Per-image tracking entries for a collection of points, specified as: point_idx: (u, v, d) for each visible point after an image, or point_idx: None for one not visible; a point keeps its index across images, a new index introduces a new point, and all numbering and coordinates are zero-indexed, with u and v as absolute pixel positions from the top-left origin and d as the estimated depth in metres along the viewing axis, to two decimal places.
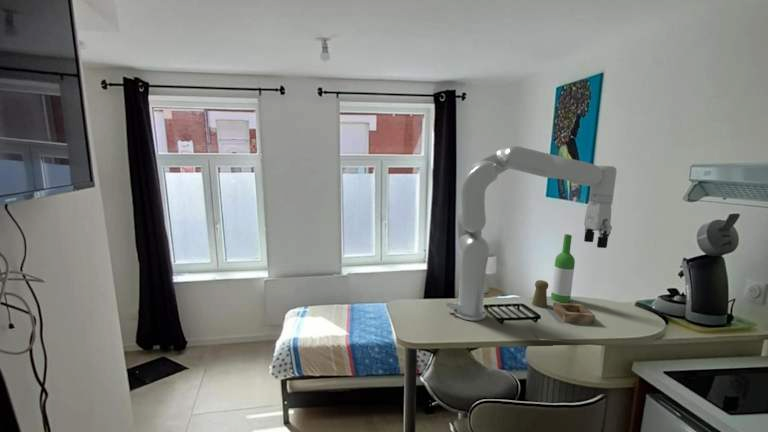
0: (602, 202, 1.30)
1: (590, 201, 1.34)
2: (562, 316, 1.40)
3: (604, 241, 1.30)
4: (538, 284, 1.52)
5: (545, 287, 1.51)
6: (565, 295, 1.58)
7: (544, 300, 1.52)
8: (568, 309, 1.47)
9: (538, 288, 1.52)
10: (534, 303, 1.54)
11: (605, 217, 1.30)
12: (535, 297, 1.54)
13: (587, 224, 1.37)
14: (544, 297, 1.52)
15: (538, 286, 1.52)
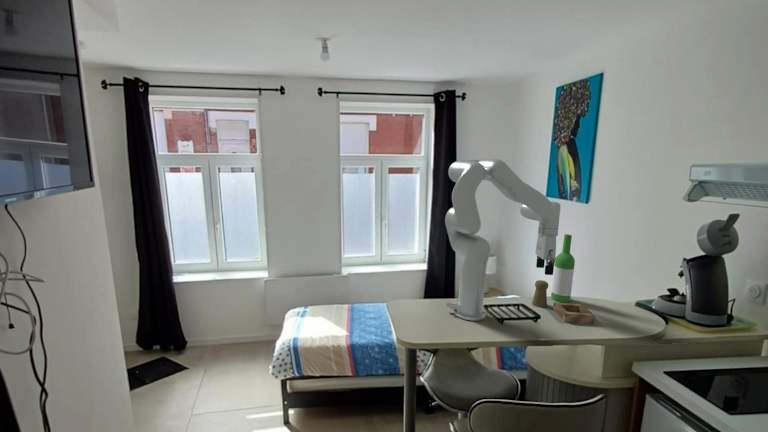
0: (548, 234, 1.47)
1: (538, 233, 1.50)
2: (562, 316, 1.40)
3: (550, 269, 1.47)
4: (538, 284, 1.52)
5: (545, 287, 1.51)
6: (565, 295, 1.58)
7: (544, 300, 1.52)
8: (568, 309, 1.47)
9: (538, 288, 1.52)
10: (534, 303, 1.54)
11: (551, 248, 1.46)
12: (535, 297, 1.54)
13: (537, 252, 1.54)
14: (544, 297, 1.52)
15: (538, 286, 1.52)
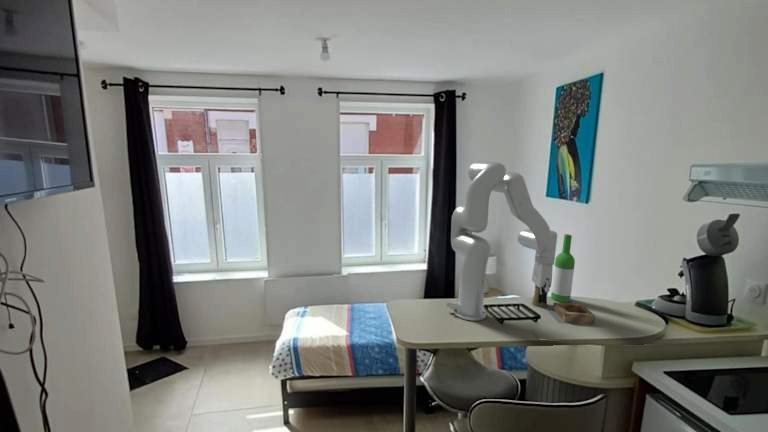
0: (544, 263, 1.48)
1: (535, 261, 1.52)
2: (562, 316, 1.40)
3: (543, 298, 1.51)
4: None
5: None
6: (565, 295, 1.58)
7: None
8: (568, 309, 1.47)
9: (538, 288, 1.52)
10: (534, 303, 1.54)
11: (547, 276, 1.48)
12: (535, 297, 1.54)
13: (533, 280, 1.55)
14: None
15: None
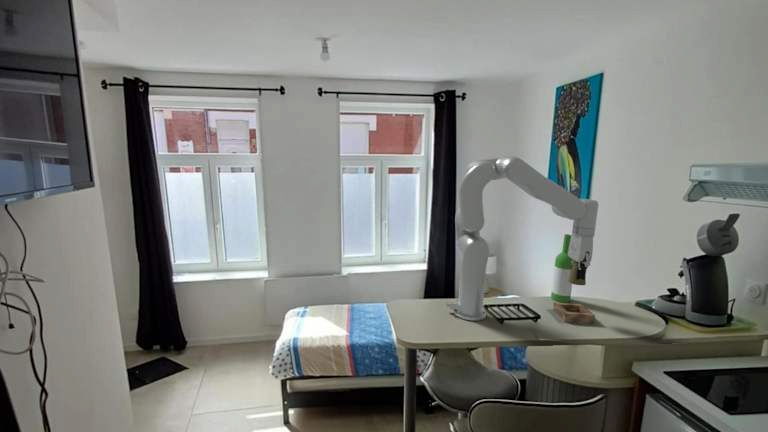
0: (584, 235, 1.35)
1: (573, 233, 1.38)
2: (562, 316, 1.40)
3: (582, 274, 1.37)
4: None
5: None
6: (565, 295, 1.58)
7: None
8: (568, 309, 1.47)
9: (576, 263, 1.39)
10: (571, 280, 1.40)
11: (587, 249, 1.34)
12: (573, 273, 1.40)
13: (570, 254, 1.42)
14: None
15: None
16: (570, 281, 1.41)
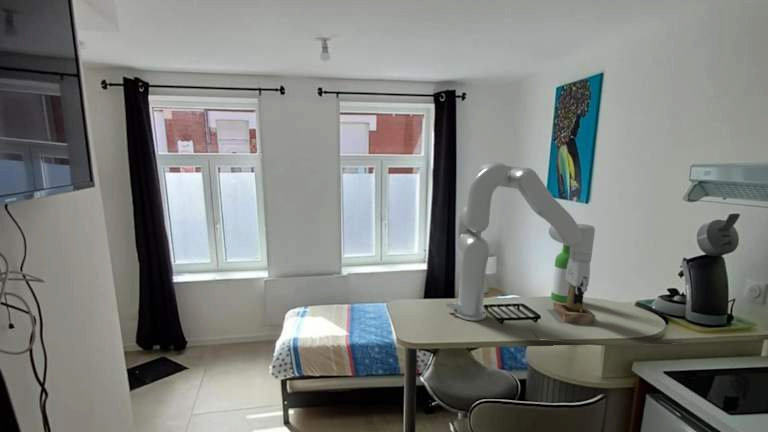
0: (581, 260, 1.36)
1: (570, 258, 1.40)
2: (562, 316, 1.40)
3: (580, 298, 1.39)
4: None
5: None
6: (565, 295, 1.58)
7: None
8: (568, 309, 1.47)
9: (573, 287, 1.40)
10: (569, 304, 1.42)
11: (584, 275, 1.36)
12: (570, 297, 1.42)
13: (567, 278, 1.43)
14: None
15: None
16: (568, 305, 1.42)
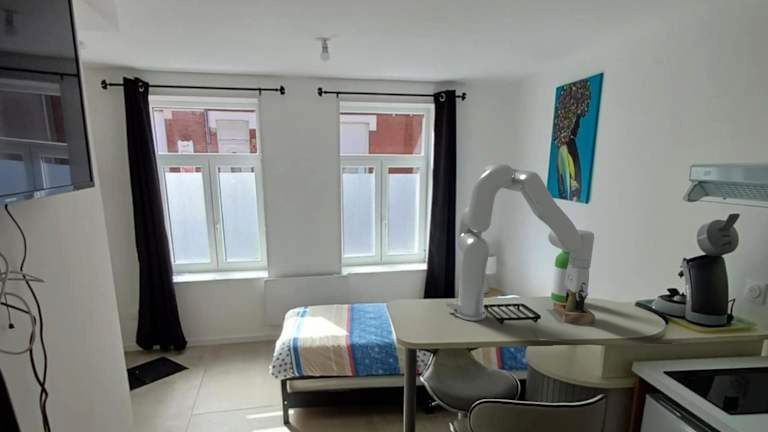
0: (580, 266, 1.37)
1: (569, 264, 1.40)
2: (562, 316, 1.40)
3: (581, 304, 1.38)
4: None
5: None
6: (565, 295, 1.58)
7: None
8: None
9: (572, 296, 1.41)
10: None
11: (583, 281, 1.36)
12: (568, 305, 1.42)
13: (567, 284, 1.44)
14: None
15: (572, 293, 1.40)
16: None
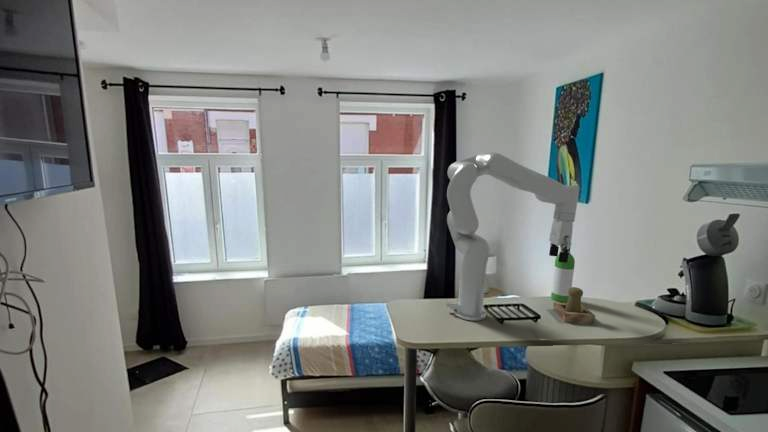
0: (564, 219, 1.39)
1: (554, 218, 1.42)
2: (562, 316, 1.40)
3: (565, 256, 1.38)
4: (572, 291, 1.40)
5: (580, 295, 1.39)
6: (565, 295, 1.58)
7: (578, 309, 1.40)
8: None
9: (572, 296, 1.41)
10: None
11: (566, 234, 1.38)
12: (568, 305, 1.42)
13: (551, 239, 1.45)
14: (578, 306, 1.40)
15: (572, 293, 1.40)
16: None
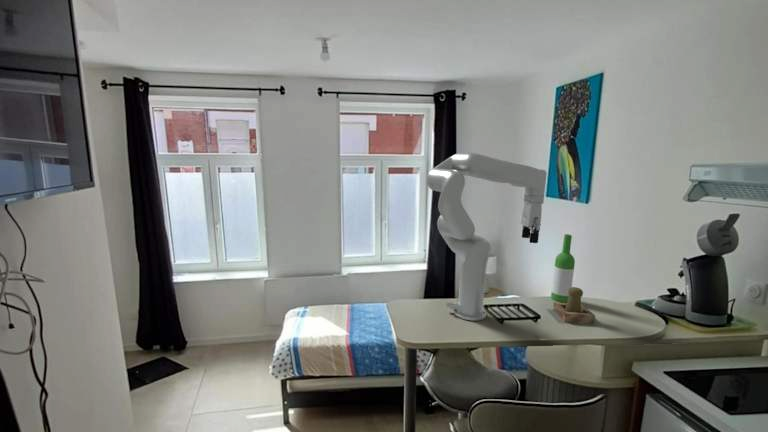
0: (533, 202, 1.45)
1: (524, 201, 1.49)
2: (562, 316, 1.40)
3: (535, 237, 1.45)
4: (572, 291, 1.40)
5: (580, 295, 1.39)
6: (565, 295, 1.58)
7: (578, 309, 1.40)
8: None
9: (572, 296, 1.41)
10: None
11: (536, 215, 1.44)
12: (568, 305, 1.42)
13: (523, 221, 1.52)
14: (578, 306, 1.40)
15: (572, 293, 1.40)
16: None
